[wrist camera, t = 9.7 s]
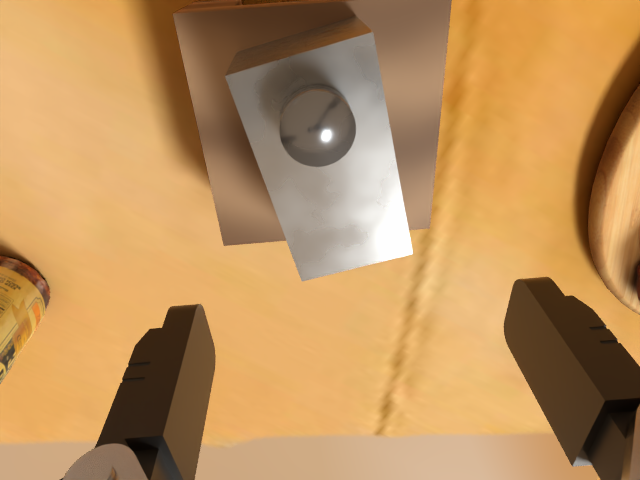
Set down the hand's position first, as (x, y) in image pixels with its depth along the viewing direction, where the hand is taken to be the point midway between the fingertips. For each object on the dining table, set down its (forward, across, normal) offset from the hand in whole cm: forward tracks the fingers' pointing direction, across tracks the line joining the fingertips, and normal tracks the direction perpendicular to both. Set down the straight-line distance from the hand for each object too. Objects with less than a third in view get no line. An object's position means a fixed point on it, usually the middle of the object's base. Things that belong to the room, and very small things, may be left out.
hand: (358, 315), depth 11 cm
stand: (+18, 0, 0) cm, 18 cm away
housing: (+13, 0, 0) cm, 13 cm away
